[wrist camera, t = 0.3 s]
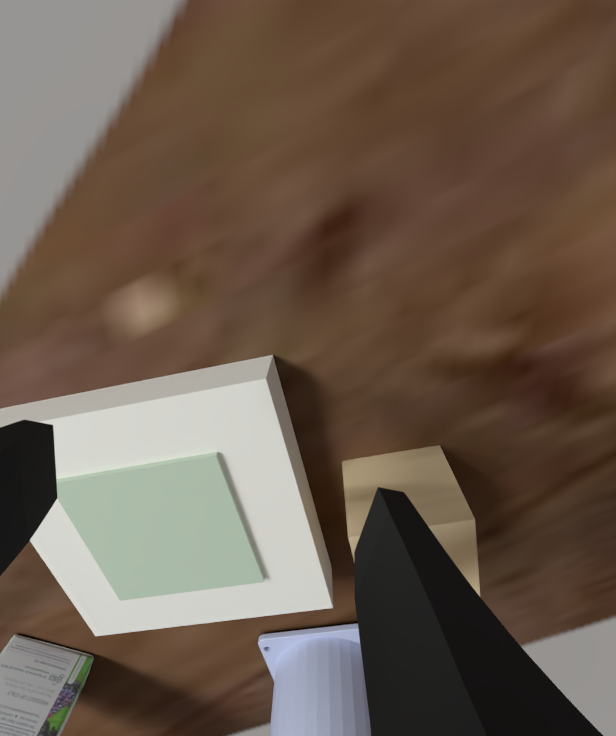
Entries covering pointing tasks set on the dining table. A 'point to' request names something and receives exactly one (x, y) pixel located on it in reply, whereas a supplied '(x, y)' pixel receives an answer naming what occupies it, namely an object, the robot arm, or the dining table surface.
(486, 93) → the dining table surface
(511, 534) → the dining table surface
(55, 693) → the syrup box
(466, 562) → the birch block
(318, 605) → the base plinth
